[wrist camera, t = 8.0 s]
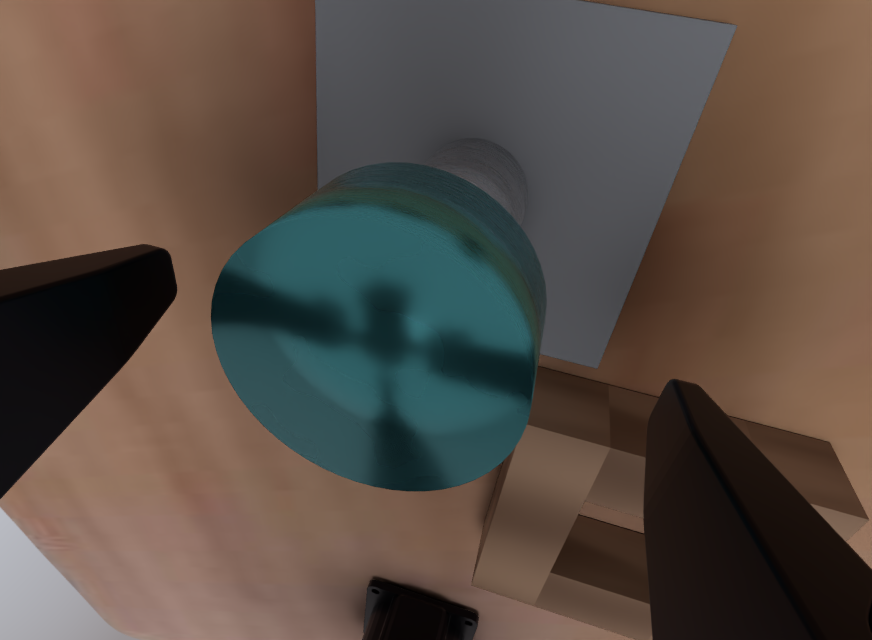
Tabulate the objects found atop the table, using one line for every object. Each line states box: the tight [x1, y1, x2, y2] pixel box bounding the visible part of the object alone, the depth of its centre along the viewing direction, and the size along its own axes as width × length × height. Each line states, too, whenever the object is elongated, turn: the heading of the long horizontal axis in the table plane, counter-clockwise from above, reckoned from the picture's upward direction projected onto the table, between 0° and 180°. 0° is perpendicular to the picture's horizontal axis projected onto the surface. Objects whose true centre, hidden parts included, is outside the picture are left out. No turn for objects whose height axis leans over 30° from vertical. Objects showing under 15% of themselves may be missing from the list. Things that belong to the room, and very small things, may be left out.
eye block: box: [471, 367, 869, 640], centre depth 19 cm, size 10×10×3 cm
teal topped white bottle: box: [211, 138, 547, 491], centre depth 11 cm, size 5×5×8 cm
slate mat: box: [315, 0, 737, 369], centre depth 15 cm, size 10×10×1 cm
